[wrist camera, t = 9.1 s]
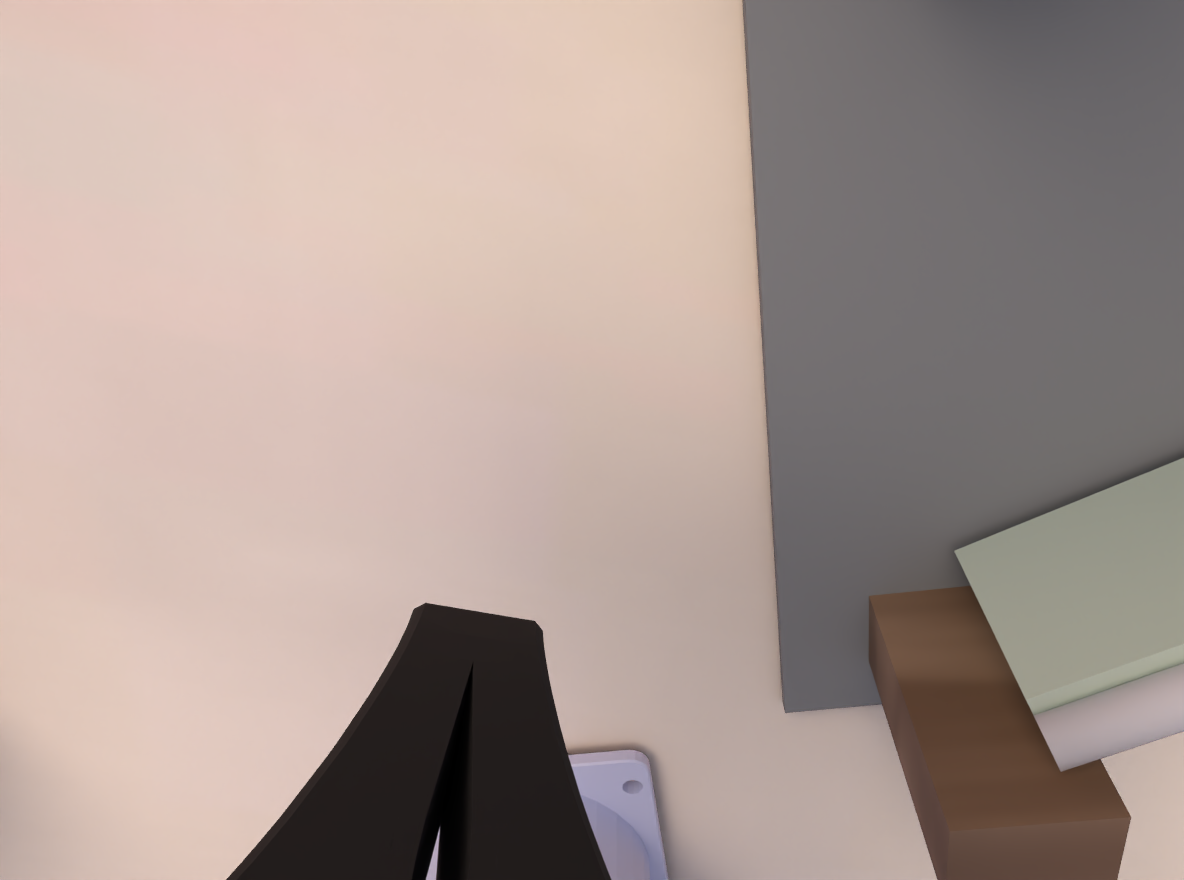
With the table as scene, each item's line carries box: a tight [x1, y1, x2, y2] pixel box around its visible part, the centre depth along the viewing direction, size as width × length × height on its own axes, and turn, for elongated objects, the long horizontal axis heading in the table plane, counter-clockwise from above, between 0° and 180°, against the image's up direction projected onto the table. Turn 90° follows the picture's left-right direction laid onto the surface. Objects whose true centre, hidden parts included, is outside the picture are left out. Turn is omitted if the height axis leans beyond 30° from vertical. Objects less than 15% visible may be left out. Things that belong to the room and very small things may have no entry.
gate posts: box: [869, 586, 1131, 880], centre depth 16 cm, size 18×3×6 cm, turn 8°
